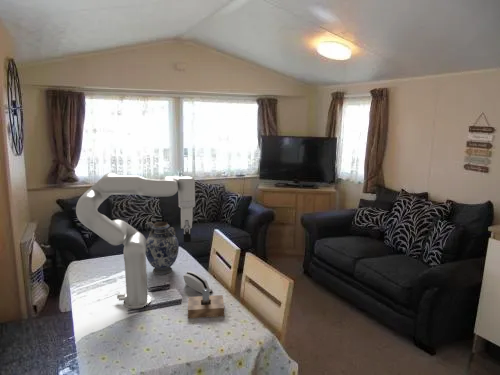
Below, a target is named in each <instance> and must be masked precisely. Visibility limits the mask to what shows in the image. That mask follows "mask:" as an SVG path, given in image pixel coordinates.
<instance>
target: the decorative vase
mask: <svg viewBox="0 0 500 375" xmlns="http://www.w3.org/2000/svg"><path fill="white" fill-rule="evenodd" d="M146 227H147V229H148V231H149V235H148V236H147V238H145V239H146V260H147V261H148V263H149V264H150V266H151V267H152V268H153V270H152V272H153V274H154V275H159V276H162V275H163V276H164V275H169V274H170V273H172V272H173V268H172V266H173V265H174V264H175V262H176V260H177V258H178V255H179V249H180V247H179V246H180V245H179V241H178V238H177V237H176V229H175V228H174V227H172V226H171V227H170V224H168V222H166V221H157V222H154V223H153V222H152V221H148V222H147V224H146Z"/></svg>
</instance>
